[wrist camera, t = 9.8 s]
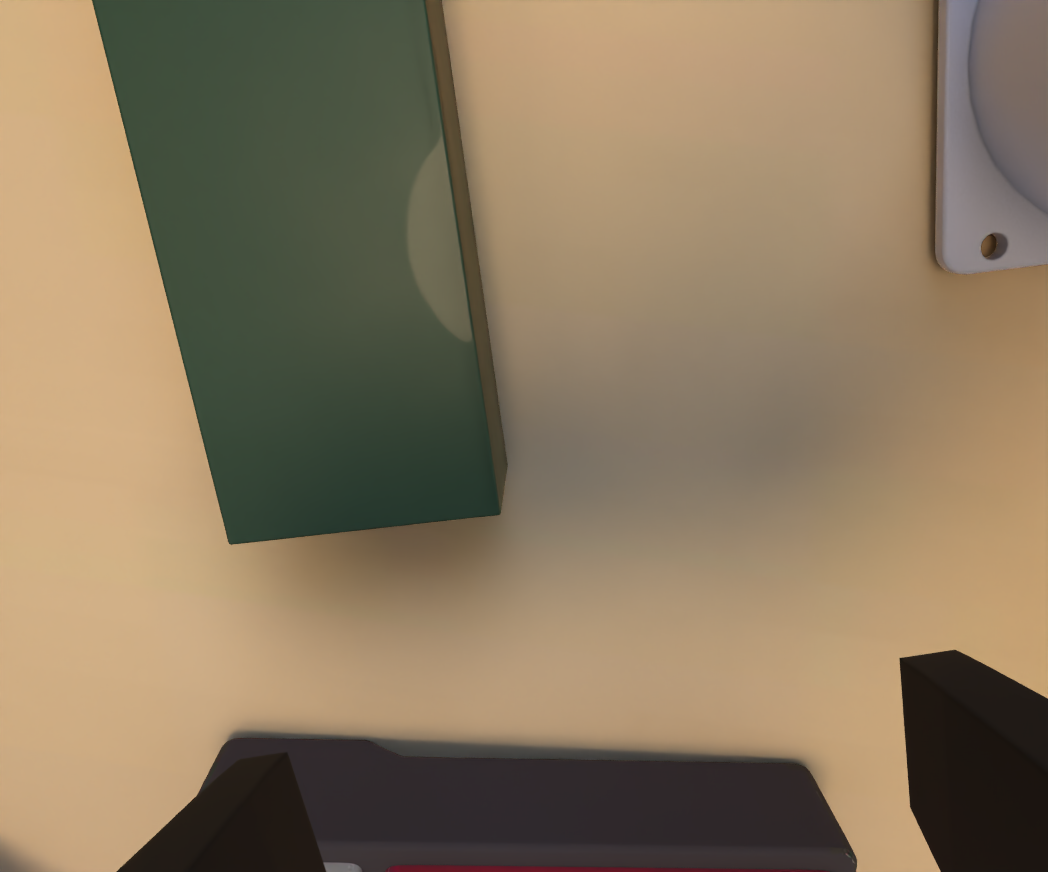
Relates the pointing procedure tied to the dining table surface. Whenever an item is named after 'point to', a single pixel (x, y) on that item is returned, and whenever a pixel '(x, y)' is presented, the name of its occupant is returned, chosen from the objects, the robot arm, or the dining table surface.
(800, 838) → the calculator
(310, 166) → the book
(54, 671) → the dining table surface
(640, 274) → the dining table surface
